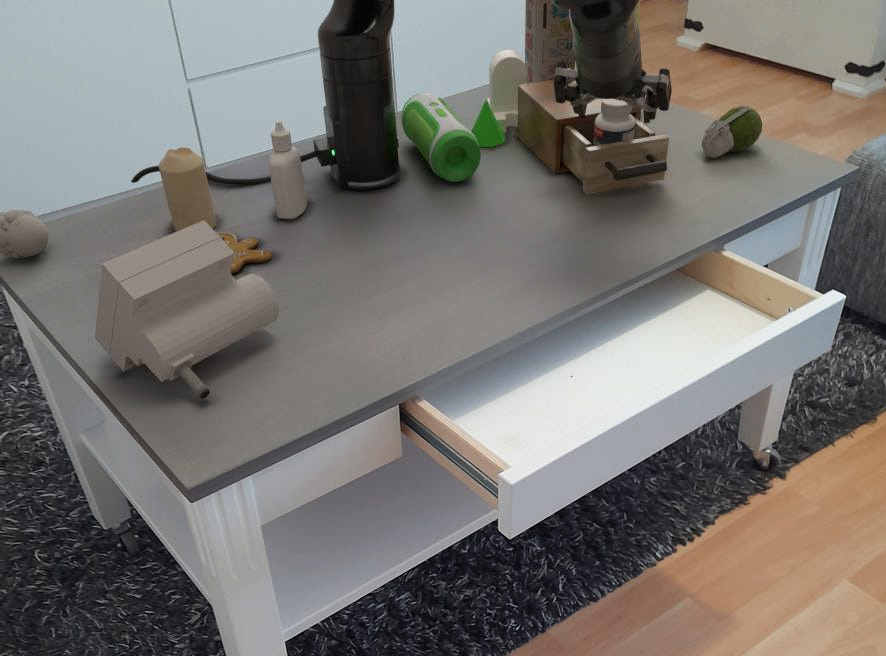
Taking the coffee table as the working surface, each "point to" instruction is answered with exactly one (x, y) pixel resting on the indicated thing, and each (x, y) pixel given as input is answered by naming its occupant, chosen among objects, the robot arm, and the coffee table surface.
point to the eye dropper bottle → (286, 175)
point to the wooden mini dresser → (549, 120)
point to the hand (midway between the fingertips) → (615, 113)
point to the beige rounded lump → (22, 234)
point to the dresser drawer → (613, 157)
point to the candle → (186, 188)
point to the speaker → (440, 137)
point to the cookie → (243, 251)
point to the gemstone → (487, 128)
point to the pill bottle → (613, 123)
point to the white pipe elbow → (178, 304)
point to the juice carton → (546, 40)
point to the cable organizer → (506, 86)
